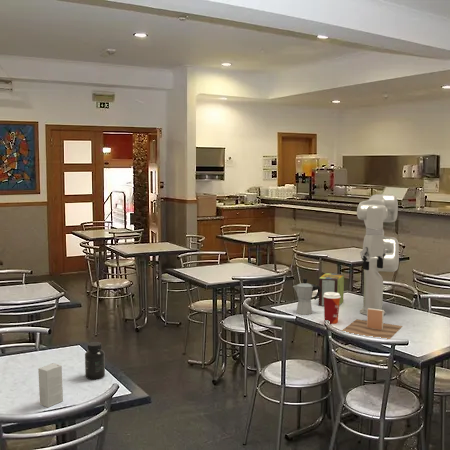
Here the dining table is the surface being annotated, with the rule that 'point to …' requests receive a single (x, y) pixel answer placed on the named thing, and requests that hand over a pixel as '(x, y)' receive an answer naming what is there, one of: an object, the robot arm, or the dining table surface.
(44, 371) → the skincare box
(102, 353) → the supplement bottle
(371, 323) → the tile
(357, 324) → the board
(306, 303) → the coffee maker
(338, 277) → the protein box
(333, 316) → the coffee cup
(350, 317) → the dining table surface
